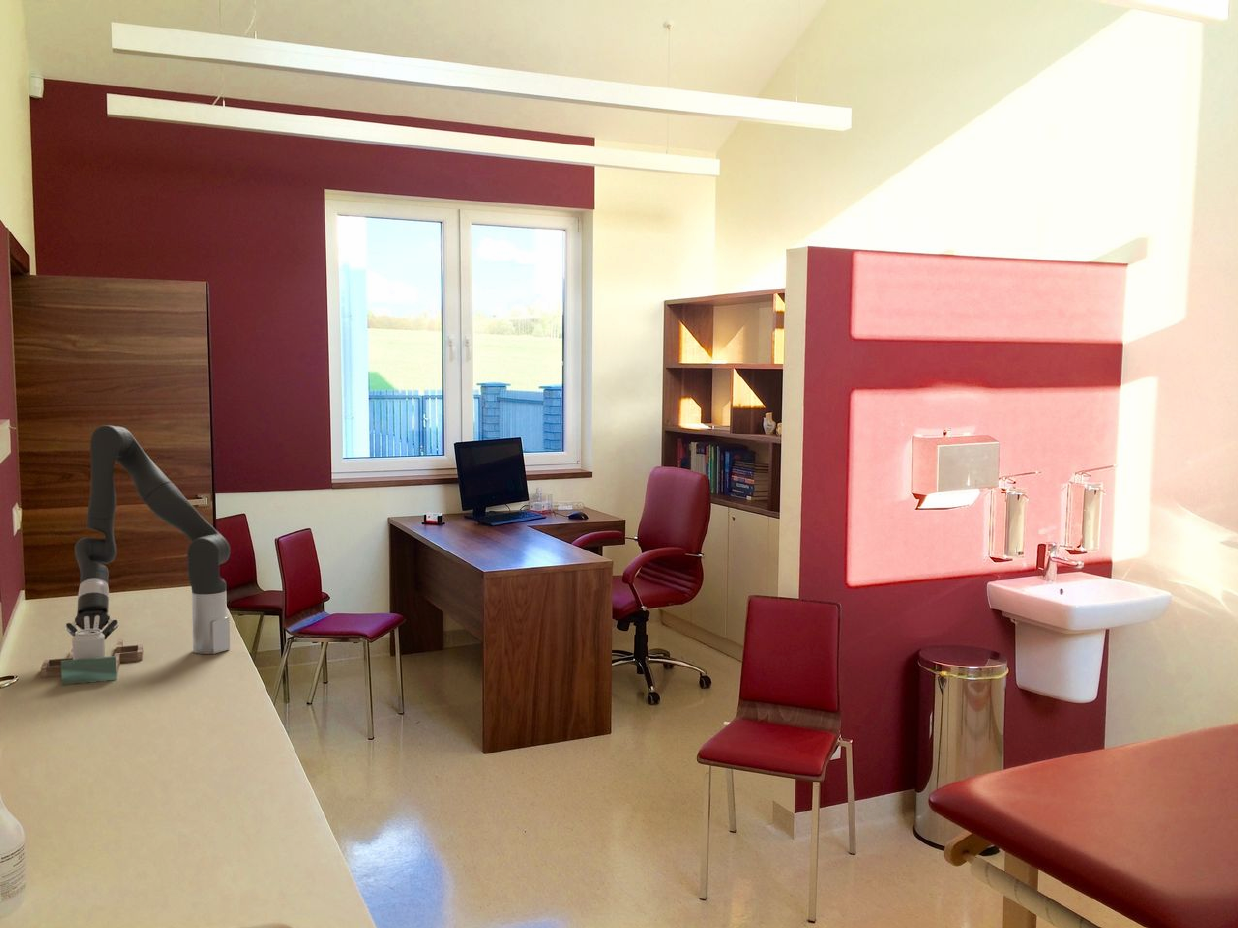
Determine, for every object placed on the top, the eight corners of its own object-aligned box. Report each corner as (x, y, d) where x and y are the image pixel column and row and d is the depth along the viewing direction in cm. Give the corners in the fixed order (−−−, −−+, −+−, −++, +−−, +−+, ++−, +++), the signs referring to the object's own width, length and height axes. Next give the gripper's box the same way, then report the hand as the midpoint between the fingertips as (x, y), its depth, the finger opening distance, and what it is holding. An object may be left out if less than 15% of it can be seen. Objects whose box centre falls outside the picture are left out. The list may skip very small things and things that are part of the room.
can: (111, 672, 265) (110, 627, 264) (95, 680, 257) (93, 634, 256) (84, 671, 265) (83, 627, 264) (67, 679, 258) (65, 633, 257)
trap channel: (52, 653, 283) (51, 632, 282) (144, 645, 292) (143, 624, 292) (36, 687, 251) (35, 664, 250) (140, 677, 260) (139, 654, 260)
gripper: (64, 593, 270) (61, 648, 259) (119, 589, 275) (117, 644, 265) (67, 608, 275) (64, 663, 265) (121, 604, 280) (119, 658, 270)
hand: (90, 653), depth 265 cm, fingers closed
